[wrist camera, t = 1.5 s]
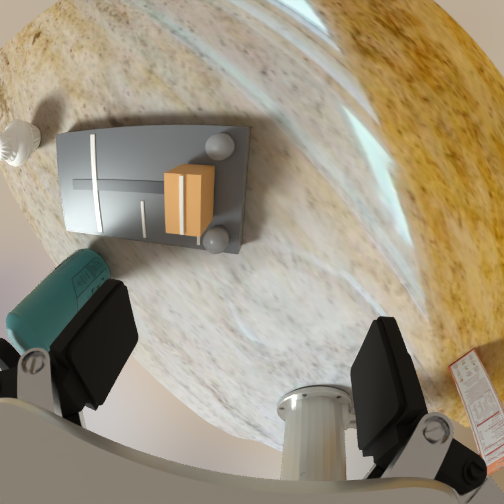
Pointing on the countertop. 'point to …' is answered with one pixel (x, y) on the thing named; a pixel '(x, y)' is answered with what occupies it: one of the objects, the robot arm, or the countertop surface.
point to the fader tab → (189, 199)
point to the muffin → (19, 142)
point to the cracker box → (481, 408)
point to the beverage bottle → (52, 305)
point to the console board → (151, 180)
